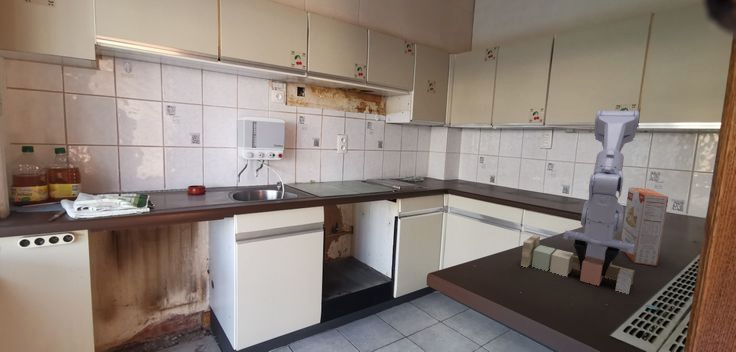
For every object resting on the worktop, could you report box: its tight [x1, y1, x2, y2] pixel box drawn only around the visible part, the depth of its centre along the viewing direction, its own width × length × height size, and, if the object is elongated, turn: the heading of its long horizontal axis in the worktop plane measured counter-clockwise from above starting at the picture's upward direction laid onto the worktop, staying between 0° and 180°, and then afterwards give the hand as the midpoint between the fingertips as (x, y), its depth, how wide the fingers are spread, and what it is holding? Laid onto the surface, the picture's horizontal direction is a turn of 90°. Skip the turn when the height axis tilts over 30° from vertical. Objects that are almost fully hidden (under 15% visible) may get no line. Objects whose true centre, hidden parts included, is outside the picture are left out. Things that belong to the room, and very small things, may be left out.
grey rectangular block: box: [614, 269, 633, 295], centre depth 81 cm, size 6×2×4 cm, turn 138°
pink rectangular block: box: [579, 256, 604, 287], centre depth 85 cm, size 6×4×5 cm, turn 138°
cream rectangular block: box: [549, 248, 575, 278], centre depth 90 cm, size 6×4×5 cm, turn 138°
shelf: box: [520, 234, 635, 286], centre depth 88 cm, size 10×24×7 cm, turn 48°
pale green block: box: [531, 244, 556, 272], centre depth 93 cm, size 6×4×5 cm, turn 139°
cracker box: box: [620, 187, 669, 267], centre depth 102 cm, size 14×6×21 cm, turn 157°
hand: (592, 272), depth 85 cm, fingers closed on pink rectangular block, 4 cm apart
